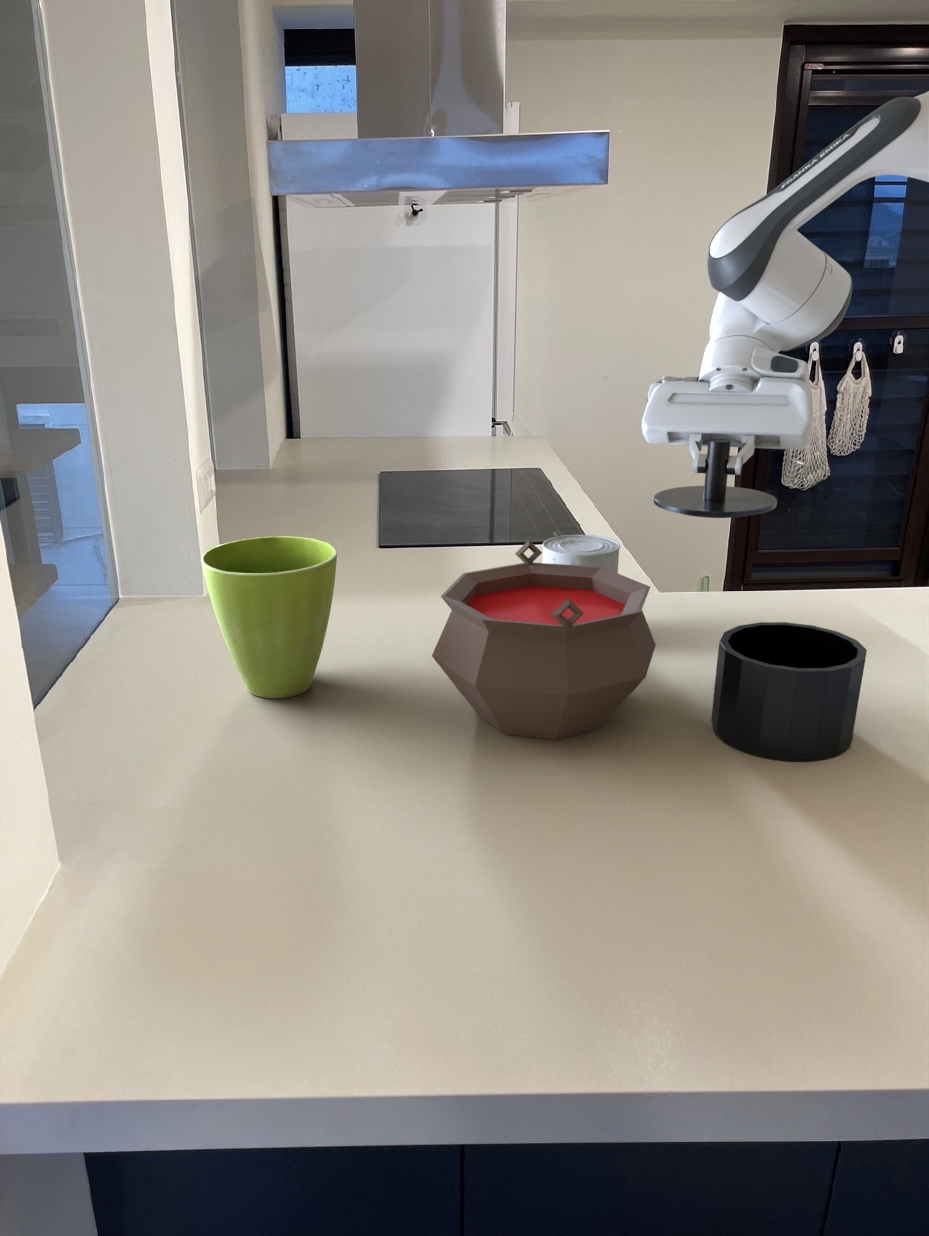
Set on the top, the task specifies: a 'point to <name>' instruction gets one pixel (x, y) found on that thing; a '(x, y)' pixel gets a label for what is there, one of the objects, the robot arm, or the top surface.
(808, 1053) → the top surface
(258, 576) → the flower pot
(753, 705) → the pot
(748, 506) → the lid
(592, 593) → the brown cauldron
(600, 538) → the tin can
